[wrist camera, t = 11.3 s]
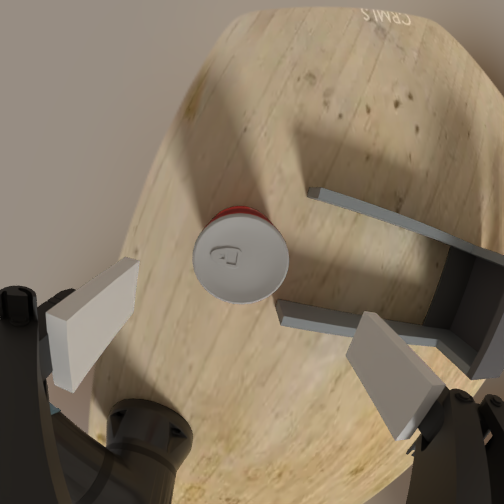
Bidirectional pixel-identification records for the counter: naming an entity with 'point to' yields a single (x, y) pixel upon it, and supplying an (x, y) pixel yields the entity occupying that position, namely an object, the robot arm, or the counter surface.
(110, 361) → the counter surface
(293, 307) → the trap channel
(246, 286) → the canned food
